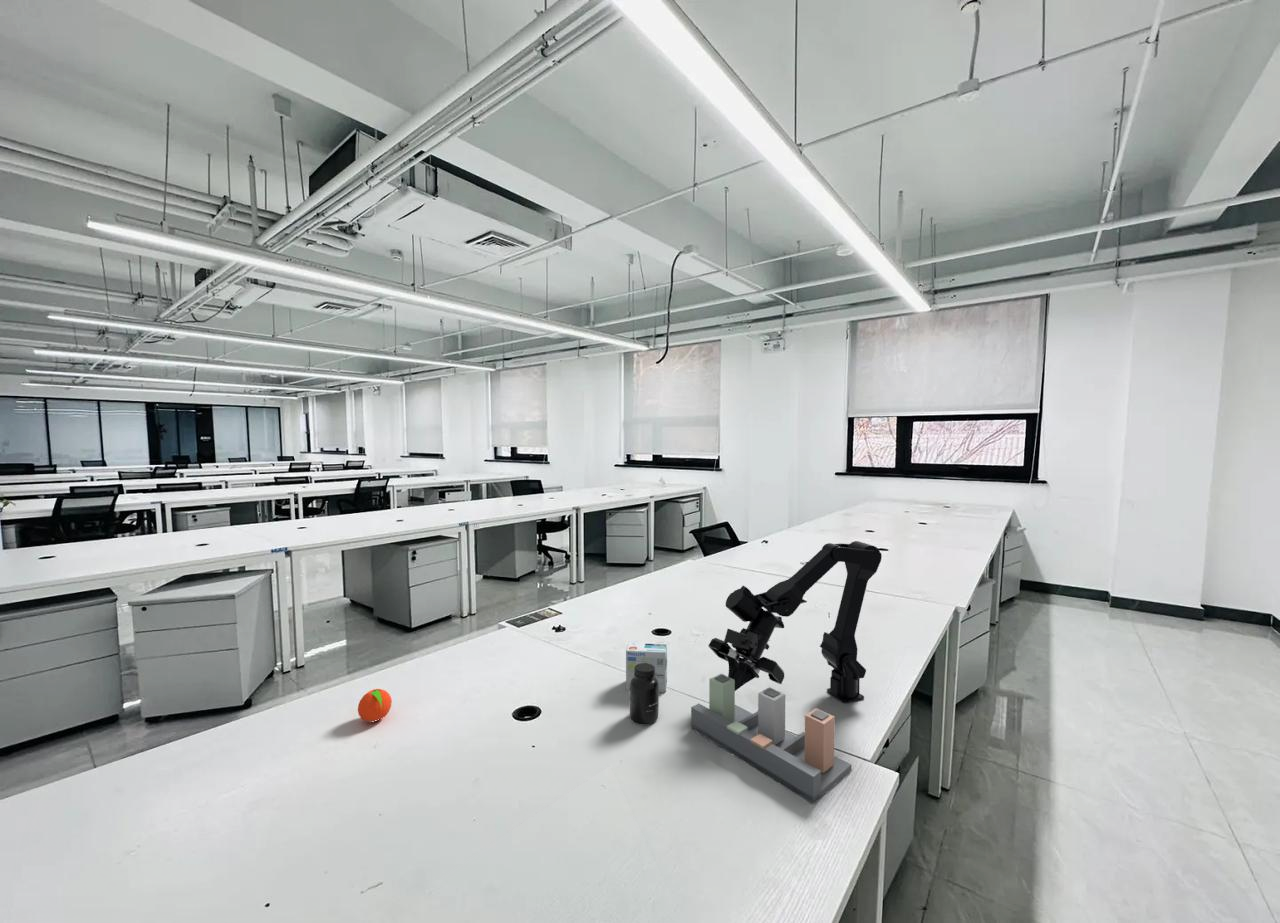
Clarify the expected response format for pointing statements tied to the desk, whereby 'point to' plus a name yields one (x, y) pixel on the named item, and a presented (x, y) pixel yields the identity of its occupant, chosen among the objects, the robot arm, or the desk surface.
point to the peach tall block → (819, 739)
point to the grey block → (771, 715)
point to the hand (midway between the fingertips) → (728, 692)
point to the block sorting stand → (768, 752)
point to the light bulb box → (647, 660)
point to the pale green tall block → (722, 696)
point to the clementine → (374, 705)
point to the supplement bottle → (644, 695)
